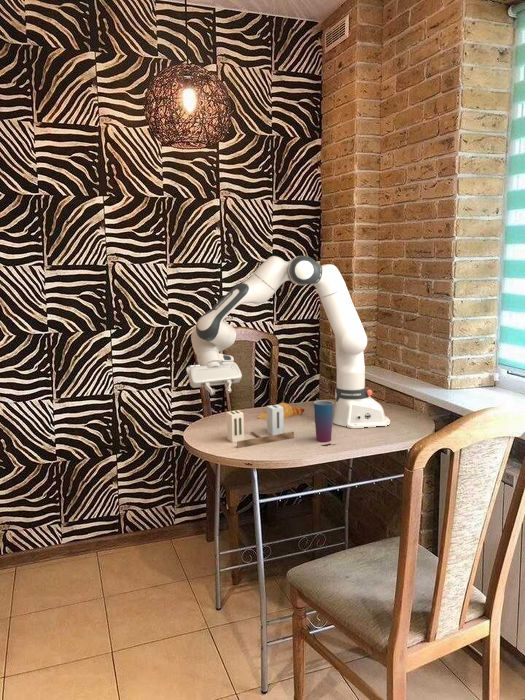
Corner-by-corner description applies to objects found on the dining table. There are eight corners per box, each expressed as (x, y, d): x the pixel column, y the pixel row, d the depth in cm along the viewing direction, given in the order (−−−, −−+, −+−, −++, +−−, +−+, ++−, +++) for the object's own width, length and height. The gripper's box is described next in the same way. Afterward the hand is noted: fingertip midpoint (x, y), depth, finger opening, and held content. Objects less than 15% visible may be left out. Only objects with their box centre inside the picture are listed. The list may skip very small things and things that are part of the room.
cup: (333, 440, 200) (333, 400, 198) (333, 447, 193) (333, 405, 191) (314, 440, 201) (313, 400, 198) (313, 446, 194) (313, 404, 192)
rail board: (278, 432, 211) (278, 423, 210) (294, 441, 200) (293, 432, 199) (224, 442, 201) (224, 432, 200) (237, 452, 190) (237, 441, 190)
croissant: (261, 432, 224) (264, 417, 219) (251, 415, 231) (254, 400, 227) (307, 423, 233) (311, 409, 228) (296, 407, 240) (300, 393, 235)
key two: (238, 437, 202) (238, 409, 200) (244, 440, 198) (243, 412, 196) (227, 439, 200) (226, 411, 198) (232, 442, 196) (231, 414, 194)
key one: (277, 430, 209) (277, 404, 207) (283, 433, 205) (283, 406, 203) (267, 432, 207) (266, 405, 205) (273, 435, 203) (272, 408, 201)
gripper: (186, 361, 208) (196, 391, 201) (236, 355, 217) (248, 385, 210) (183, 370, 212) (192, 401, 205) (232, 365, 221) (243, 394, 214)
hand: (221, 393), depth 208 cm, fingers open, 5 cm apart
